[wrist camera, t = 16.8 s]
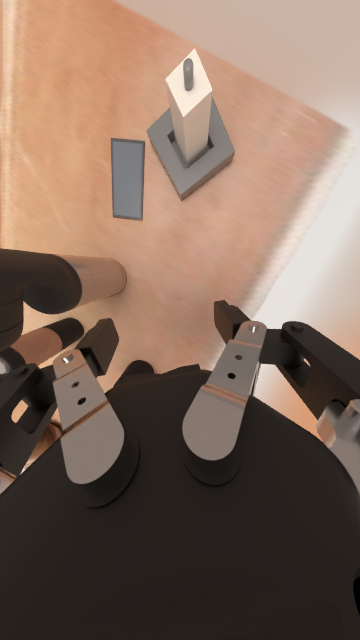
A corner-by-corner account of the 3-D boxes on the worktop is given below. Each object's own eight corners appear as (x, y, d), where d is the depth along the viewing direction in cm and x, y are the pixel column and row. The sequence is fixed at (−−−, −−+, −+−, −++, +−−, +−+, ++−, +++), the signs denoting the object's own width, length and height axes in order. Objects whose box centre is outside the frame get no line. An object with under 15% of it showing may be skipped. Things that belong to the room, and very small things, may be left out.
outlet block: (181, 200, 35) (180, 195, 32) (150, 142, 32) (146, 130, 29) (231, 161, 32) (235, 151, 29) (202, 93, 29) (203, 74, 26)
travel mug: (89, 335, 49) (22, 379, 30) (70, 342, 50) (-5, 389, 31) (75, 313, 47) (-7, 345, 28) (56, 322, 48) (-34, 358, 29)
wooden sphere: (78, 437, 66) (46, 484, 51) (52, 443, 69) (15, 489, 55) (56, 411, 62) (14, 454, 48) (29, 419, 65) (-17, 462, 51)
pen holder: (124, 359, 50) (107, 381, 41) (152, 358, 49) (142, 379, 40) (130, 383, 53) (116, 408, 44) (157, 382, 52) (149, 408, 43)
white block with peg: (187, 168, 32) (182, 102, 19) (176, 146, 31) (162, 60, 18) (206, 153, 31) (214, 71, 18) (195, 128, 30) (194, 24, 17)
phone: (114, 217, 38) (112, 216, 37) (113, 141, 33) (110, 137, 32) (143, 221, 37) (141, 220, 37) (145, 144, 33) (144, 140, 32)
